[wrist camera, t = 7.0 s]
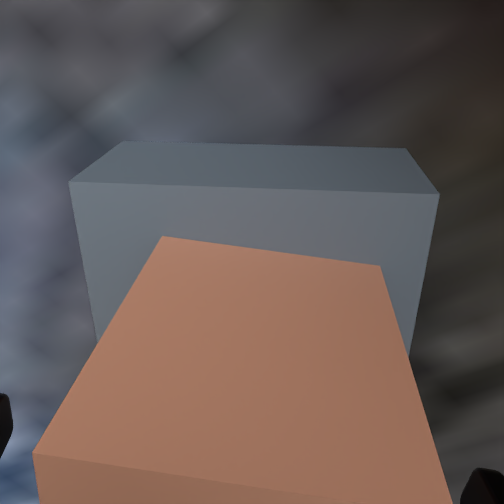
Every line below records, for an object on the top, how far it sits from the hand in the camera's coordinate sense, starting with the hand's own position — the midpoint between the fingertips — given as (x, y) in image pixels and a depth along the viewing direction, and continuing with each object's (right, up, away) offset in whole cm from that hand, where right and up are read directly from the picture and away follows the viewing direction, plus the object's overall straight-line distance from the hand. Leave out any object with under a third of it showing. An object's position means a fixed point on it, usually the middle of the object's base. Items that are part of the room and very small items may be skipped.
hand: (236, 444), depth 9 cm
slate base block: (+1, +3, +6) cm, 7 cm away
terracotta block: (0, +1, +3) cm, 3 cm away
